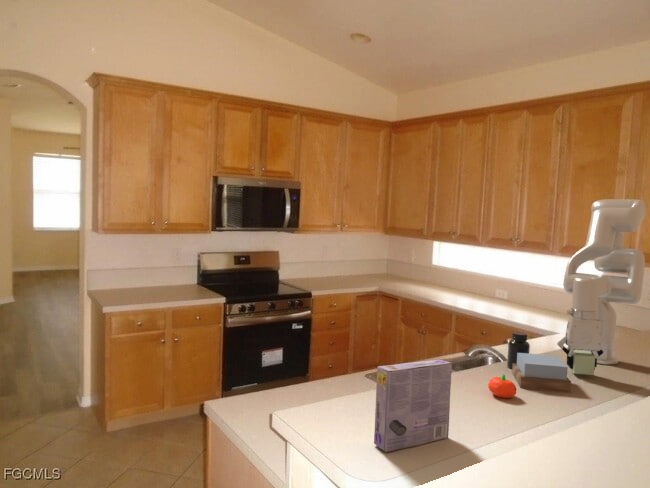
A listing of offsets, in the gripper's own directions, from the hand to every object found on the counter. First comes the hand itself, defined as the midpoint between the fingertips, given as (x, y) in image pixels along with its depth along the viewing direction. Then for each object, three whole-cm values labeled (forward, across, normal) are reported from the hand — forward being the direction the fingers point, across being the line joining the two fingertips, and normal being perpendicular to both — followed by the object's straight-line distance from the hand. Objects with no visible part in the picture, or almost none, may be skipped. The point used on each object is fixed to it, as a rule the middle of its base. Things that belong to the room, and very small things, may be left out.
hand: (581, 367), depth 161 cm
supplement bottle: (+3, -19, +2) cm, 20 cm away
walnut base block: (+3, -15, -12) cm, 20 cm away
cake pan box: (0, -53, -64) cm, 83 cm away
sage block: (+1, 0, 0) cm, 1 cm away
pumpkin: (+2, -29, -28) cm, 40 cm away
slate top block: (-1, -15, -12) cm, 19 cm away
